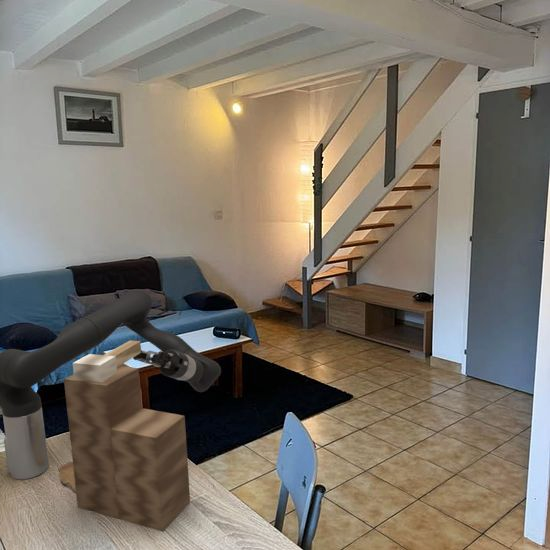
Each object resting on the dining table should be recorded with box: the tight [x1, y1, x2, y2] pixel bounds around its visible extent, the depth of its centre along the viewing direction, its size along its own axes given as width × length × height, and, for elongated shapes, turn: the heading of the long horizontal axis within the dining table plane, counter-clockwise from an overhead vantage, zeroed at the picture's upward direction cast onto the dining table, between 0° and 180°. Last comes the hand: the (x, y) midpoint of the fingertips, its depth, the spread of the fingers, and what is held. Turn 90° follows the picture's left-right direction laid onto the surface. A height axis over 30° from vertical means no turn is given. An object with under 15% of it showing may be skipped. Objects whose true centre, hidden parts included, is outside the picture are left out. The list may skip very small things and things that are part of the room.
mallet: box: [72, 340, 142, 383], centre depth 124 cm, size 7×20×4 cm, turn 164°
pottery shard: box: [57, 461, 76, 494], centre depth 135 cm, size 8×16×2 cm, turn 31°
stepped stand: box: [63, 365, 191, 532], centre depth 120 cm, size 24×11×32 cm, turn 67°
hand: (145, 353), depth 134 cm, fingers open, 8 cm apart
